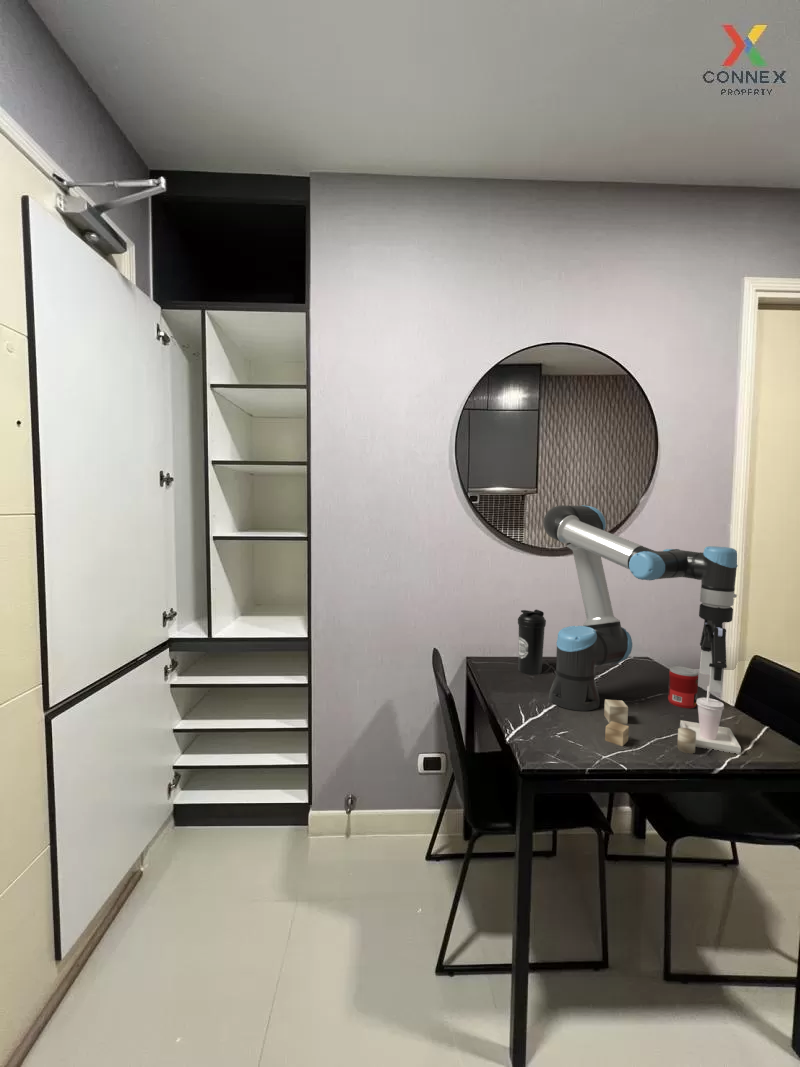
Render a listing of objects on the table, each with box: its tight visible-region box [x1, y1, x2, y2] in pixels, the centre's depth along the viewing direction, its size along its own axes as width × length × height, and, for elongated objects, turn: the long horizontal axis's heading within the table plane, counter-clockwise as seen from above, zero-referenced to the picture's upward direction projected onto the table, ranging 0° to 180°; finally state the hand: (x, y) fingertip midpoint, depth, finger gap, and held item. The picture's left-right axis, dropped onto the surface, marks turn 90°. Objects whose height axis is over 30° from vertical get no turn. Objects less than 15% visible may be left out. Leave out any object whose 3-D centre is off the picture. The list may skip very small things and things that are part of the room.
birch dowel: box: [676, 727, 696, 755], centre depth 127 cm, size 4×4×5 cm
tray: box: [679, 719, 742, 755], centre depth 133 cm, size 12×12×2 cm
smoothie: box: [696, 684, 725, 740], centre depth 133 cm, size 6×6×14 cm
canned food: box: [667, 665, 699, 709], centre depth 157 cm, size 8×8×11 cm
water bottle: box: [517, 609, 547, 676], centre depth 185 cm, size 10×10×23 cm
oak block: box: [604, 721, 630, 747], centre depth 131 cm, size 4×4×4 cm
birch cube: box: [603, 698, 629, 725], centre depth 144 cm, size 5×5×5 cm
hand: (709, 682), depth 132 cm, fingers open, 13 cm apart
